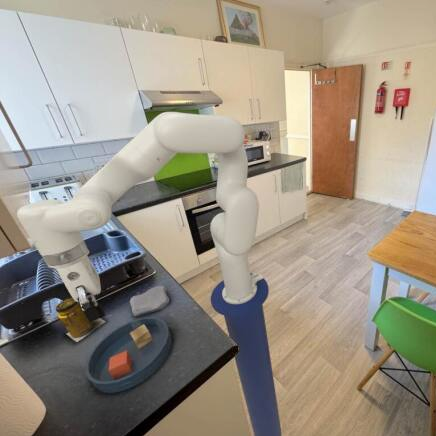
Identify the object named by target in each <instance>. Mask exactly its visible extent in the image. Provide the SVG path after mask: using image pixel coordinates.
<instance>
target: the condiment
mask: <svg viewBox="0 0 436 436" xmlns="http://www.w3.org/2000/svg"><path fill="white" fill-rule="evenodd" d="M55 311H56V313H57V316H58V319H59V320H60V321H61V323H62V324H63V326H64V327H65V329H66V330H67V333H65V334H66V335H67V336H68V337H69V338H70V339H72V340H73V341H74V342H76V343H78V342H79V341H81V340H82V339H84V338H86V337H87V336H89V335H90V334H91V333H92V332H94V331H95V330H96V329H98V328H100V327H101V326H103V324H105V323H106V320H103V319H102V317H101V318H99V319H97V320H95V321H93V322H89V320H88V319H87V317H86V315H85V314H84V312H83V310H82V307H81V304H80V302H76V301H75V300H74V299H73V297H69V298H66V299H64V300H62V301H61V302H59V303H58V304H57V305H56V307H55Z"/></svg>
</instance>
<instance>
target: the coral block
mask: <svg viewBox="0 0 436 436" xmlns="http://www.w3.org/2000/svg"><path fill="white" fill-rule="evenodd" d="M131 371H132V359H131V357H130V355H129V353H128V351H124V352H122V353H120V354H118V355H115V356H113V357H111V358H110V362H109V372H110V373H111V375H112V376H113V378H114V379H116V378H119V377H121V376H123V375H125V374H127V373H129V372H131Z"/></svg>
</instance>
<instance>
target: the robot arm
mask: <svg viewBox="0 0 436 436" xmlns="http://www.w3.org/2000/svg"><path fill="white" fill-rule="evenodd" d="M245 139H246V131H245V128H244V126H243V125H242V123H241V122H240V121H239V120H238V119H237V118H236V117H233V116H229V115H218V114H216V115H211V114H197V113H187V112H186V113H185V112H179V111H165V112H162V113H161V112H160V114H158V115H157V116H155V117H154V118H153V119H152V120H151V121H150V122H149V123H148V124H147V125H146V126H144V127H143V129H142V130H140V131H139V132H138V133H137V134H136V135H135V136H134V137H133V138H132V139H131V140H130V141H129V142H128V143H127V144H126V145H125V146H123V147H122V148H121V149H120V150H119V151H118V152H117V153H115V155H114V156H113V157H111V159H110V160H108V162H107V163H106V164H105V165H104V166H103V167H101V168H100V169H99V170H98V171H97V172H96V173H94V175H92V177H90V178H89V179H88V180H87V181H86V182H85V183H84V184H83V185H82V186H81V187H80V188H79V189H78V190H77V191H76V192H75V193H74V194H73V196H72V197H71V199H70V200H69V201H66V202H64V201H62V200H59V199H42V200H38V201H34V202H31V203H27V204H25V205H23V206H21V207H20V208H18V209H17V211H16V217H17V219H18V221H19V222H20V224H21V226H22V227H23V229H24V230H25V232H26V233H27V236H29V238H30V240H31V242H32V243H33V245H34V246H35V248H36V249H37V251H38V253H39V254H40V256H41V258H42V259H43V261H44V263H45V264H46V265H47V267H48V268H50V269H56V271H57V273H58V275H59V277H60V278H61V280H62V282H63V284H64V286H65V288H66V289H67V291H68V293H69V294H70V296H71V298H73V299H74V300H75V301H76V302H80V304H81V307H82V310H83V312H84V314H85V315H86V317H87V319H88V320H89V322H93V321H95V320H97V319H99V318H101V319H102V318H103V317H104V318H105V316H106V312H105V310H104V308H103V307H102V305H101V303H100V302H98V301H97V299H96V298H98V297H101V296H103V291H102V287H101V279H100V276H99V273H98V271H97V270H96V268H95V266H94V265H93V263H92V261H91V259H90V258H89V256H88V255H89V254H90V250H89V248H88V245H87V244H86V242H85V240H84V238H83V236H82V234H81V232H85V231H86V232H87V231H93V230H98V229H101V228H103V227H105V226H106V225H107V224H108V223H109V222H110V220H111V218H112V207H113V205H114V204H115V203H116V202H117V201H119V200H120V198H121V197H122V196H123V195H125V193H127V192H128V191H129V190H130V189H131V188H133V187H134V186H136V185H137V184H141V183H143V182H146V181H149V180H151V179H152V178H154V177H155V176H156V175H157V174H158V173H159V172H160V171H161V170H162V169H163V168H164V167H165V166H166V165H167V164H168V163H169V161H171V160H172V159H173V158H174V157H175V156H176V155H178V154H216V157H217V179H216V190H215V200H216V203H217V205H218V206H219V208H221V209H222V210H223V211H224V212H219V213H218V214H216V215H214V217H213V218H212V220H211V222H210V225H209V226H210V227H209V229H210V235H211V238H212V241H213V243H214V247H215V251H216V253H217V257H218V262H219V267H220V271H221V276H222V279H223V280H224V284H225V287H224V289H223V291H222V296H223V299H224V300H225V301H226V302H227V303H230V304H242V303H245V302H247V301H249V300H251V299H252V298H253V297H254V296H255V294H256V292H257V285H256V283H257V281H259V280H261V279H263V278H264V276H263V274H262V273H260V274H257V273H256V272H254V273H252V275H250V273H251V269H250V263H249V257H248V252H249V251H250V250H251V248H252V246H253V245H254V243H255V239H256V232H257V228H258V227H257V225H258V220H259V219H258V218H259V213H260V212H259V211H260V204H259V199H258V196H257V195H256V193H255V192H254V191H253V190H252V189H251V188H250V187H248V185H247V184H248V170H249V160H248V154H247V151H246V147H245V145H244V143H245V141H246V140H245ZM257 275H258V276H257ZM256 276H257V277H256ZM223 280H222V281H223Z"/></svg>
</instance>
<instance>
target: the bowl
mask: <svg viewBox="0 0 436 436" xmlns="http://www.w3.org/2000/svg"><path fill="white" fill-rule="evenodd" d="M143 324H144V325H145V326H146V328H147V329H148V331H149V333H150V335H151V337H152V339H153V340H152V341H150V342H149V343H147V344H146V345H144V346H143V347H141V348H140V349H139V348H138V347H137V345H136V344H135V342H134V340H133V338H132V336H131V334H130V332H132V331H134V330H135V329H137V328H138V327H140V326H142V325H143ZM170 331H171V330H170V329H169V326H168V324H167V322H165V321H164V320H163V319H162V318H159V317H154V316H153V317H152V316H146V317H140V318H137V319H136V318H135V319H133V320H130V321H128V322H126V323H124V324H121V325H120V326H118V327H116V328H115V329H114V330H112V331H111V332H109V333H108V334H106V335H105V336H104V338H102V339H101V340H100V341H99V343H97V344H96V346H95V347H94V348H93V349H92V351H91V352H90V354H89V356H88V358H87V361H86V364H85V375H86V376H87V379H88V380H89V381H90V382H91V384H92V385H93V387H94V388H96V389H97V390H98V391H99V392H102V393H108V394H110V393H111V394H114V393H119V392H120V393H121V392H124V391H127V390H129V389H132V388H133V387H136V386H137V385H139V384H141V383H142V382H144V381H145V380H147V379H148V378H150V377H151V376H152V375H153V374H154V373H155V372H156V371H157V370H158V369H160V367H161V366H162V365H163V363H164V362H165V360H166V359H167V357H168V356H169V354H170V351H171V348H172V346H173V345H172V343H173V337H172V334H171V332H170ZM124 351H128V353H129V355H130V357H131V359H132V371H131V372H129V373H127V374H125V375H123V376H121V377H119V378H116V379H114V378H113V376H112V375H111V373H110V372H109V362H110V358H111V357H113V356H115V355H118V354H120V353H122V352H124Z"/></svg>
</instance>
